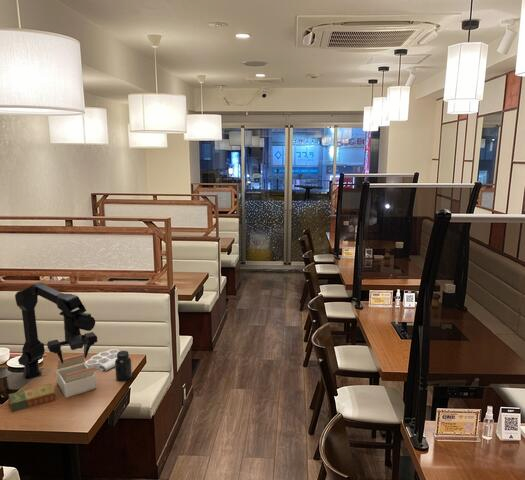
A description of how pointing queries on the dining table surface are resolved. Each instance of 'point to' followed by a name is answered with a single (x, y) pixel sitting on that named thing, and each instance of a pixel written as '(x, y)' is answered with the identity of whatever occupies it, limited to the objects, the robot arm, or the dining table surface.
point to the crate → (74, 381)
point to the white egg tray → (103, 360)
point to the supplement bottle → (123, 366)
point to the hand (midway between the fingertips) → (74, 360)
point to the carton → (31, 397)
